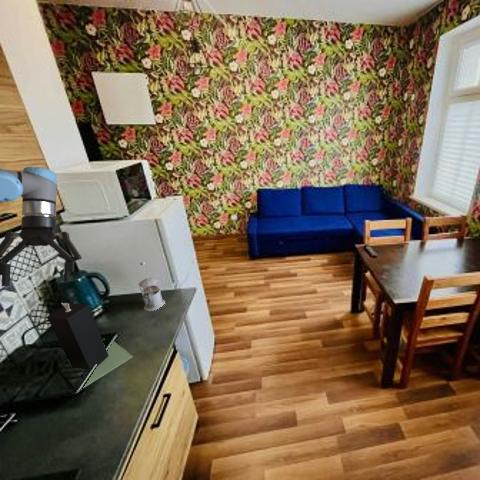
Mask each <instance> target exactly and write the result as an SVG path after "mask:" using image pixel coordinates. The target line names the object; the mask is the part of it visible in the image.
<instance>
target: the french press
mask: <svg viewBox="0 0 480 480" xmlns="http://www.w3.org/2000/svg"><path fill="white" fill-rule="evenodd" d="M145 265H146V262H145V261H141V262H140V266H142V268H143V271H144V274H145V277H146V278H145V279H142V280H141V281H140V282H139V283H138V286H139V289H140V291H141V295H142V296H141V297H142V300H143V302H144V306H143V311H145V312H155V311H157V309H158V310H160V309H161V308H160V307H162V306H163V305H164V304H165V305H166V303H165V302H166V301H165V300H164V299H163V296H162V293H161V289H160V288H159V286H158V285H156V284H158V278H155V277H148V276H147V273H146V270H145V269H146V268H145ZM142 288H143V289H142ZM165 305H164V306H165ZM164 306H163V307H164ZM163 307H162V308H163ZM159 308H160V309H159ZM154 310H155V311H154Z"/></svg>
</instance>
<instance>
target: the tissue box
mask: <svg viewBox="0 0 480 480" xmlns="http://www.w3.org/2000/svg"><path fill="white" fill-rule="evenodd" d="M61 305H62V306H63V307H61V308H59V309H57V310H55V311H54V312H52V313H51V314H49V315H47V316H46V318H47V320H48V322H49V324H50V326H51V328H52V330H53V332H54V334H55V337H56V338H57V340H58V342H59V344H60V346H61V348H62V351H63V352H64V354H65V357H66V360H68V361H69V363H70V365H71V367H72V368H82V369H91V368H92V367H93V366H94V365H95V364H97V366H98V365H100V364H101V363H102V362H103V361H104V360H105V359H106V358H107V357H108V356H109V355H108V353H107V350H106V348H105V345H104V343H103V340H104V339H103V338H102V336H101V333H100V330H99V328H98V325H97V323H96V321H95V317H94V316H93V313H92V311H91V307H90V305H89V304H84V303H74V302H68V303H67V302H64V303H63V302H61Z"/></svg>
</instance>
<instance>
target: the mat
mask: <svg viewBox="0 0 480 480" xmlns="http://www.w3.org/2000/svg"><path fill="white" fill-rule="evenodd" d="M107 353H108V355H109V356H108V357H107V358H106V359H105V360H104V361H103V362H102V363H101V364H100V365H98V366H97V367H96V369H95V370H94V372H93V374H92V375H91V377H90V378H89V380H88V381H87V383H86V384H85V386H84V387H83V389H84V388H86V387H88V386H90V385H91V384H92V383H94V382H96V381H97V380H99V379H101V378H102V377H103V376H105V375H107V374H108V373H110V372H111V371H113V370H115V369H116V368H117V367H119V366H121V365H122V364H124V363H126V362H127V361H129V360H130V359H132V358H133V357H134V356H133V354H130V353H129V351H127V350H126V349H125V348H123V347H122V346H121V345H119V344H118V343H117V342H116V341H114V342H113V343H112V345H111V346H110V347H109V349H108V351H107Z"/></svg>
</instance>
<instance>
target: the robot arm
mask: <svg viewBox="0 0 480 480" xmlns="http://www.w3.org/2000/svg"><path fill="white" fill-rule="evenodd" d="M57 188H58V180H57V173H55V172H54V171H53V170H51V169H49V168H44V167H40V166H39V167H37V166H25V167H24V168H23V170H22V171H15V170H10V169H5V168H0V203H9V202H13V201H16V200H17V199H19V198H20V197H21V199H22V200H21V202H22V204H21V215H23V216H22V217H21V229H20V232H13V231H5V235H4V239H3V240H2V241H1V242H0V276H1V287H10V286H11V270H12V269H11V267H12V264H9V262H11V260H13V259H14V258H15V257H16V256H17V255H18V256H19V254H20V253H21V252H22V251H24V250H25V249H26V248H28V247H29V246H30V247H40V246H41V247H48V246H49V247H51V248H52V249H53V250H54V251H55V252H57V253H58V254H59V255H60V256H62V257H63V259H65V260H66V261H64V263H63V264H64V265H63V283H70V282H71V272H74V271H75V262H76V261H79V260H82V255H81V253H80V252H79V251H78V249H77V247H76V246H75V245H74V243H73V242H72V240H71V238H70V233H69V232H68V231H62V232H57V219H56V218H55V217H57V191H58V189H57ZM58 237H59V239H61V240H63V243H64V244H65V245H66V247H67V248H68V250H69V251H70V253H71V254H72V255H71V254H69V253H68V252H67V251H66V250H64V249H63V248H62V247H61V246H60V245H59V244H58V243H57V242H56V241H55V240H56V239H57V238H58ZM18 238H20V239H21V240H20V241H19V242H18V244H17V245H15V246H14V247H13V248H12V249H10V250H9V251H8V252H7V250H8V249H9V248H10V246H11V245H12V244H13V242H14V241H15V240H16V239H18ZM6 252H7V253H6ZM5 253H6V254H5Z"/></svg>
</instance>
